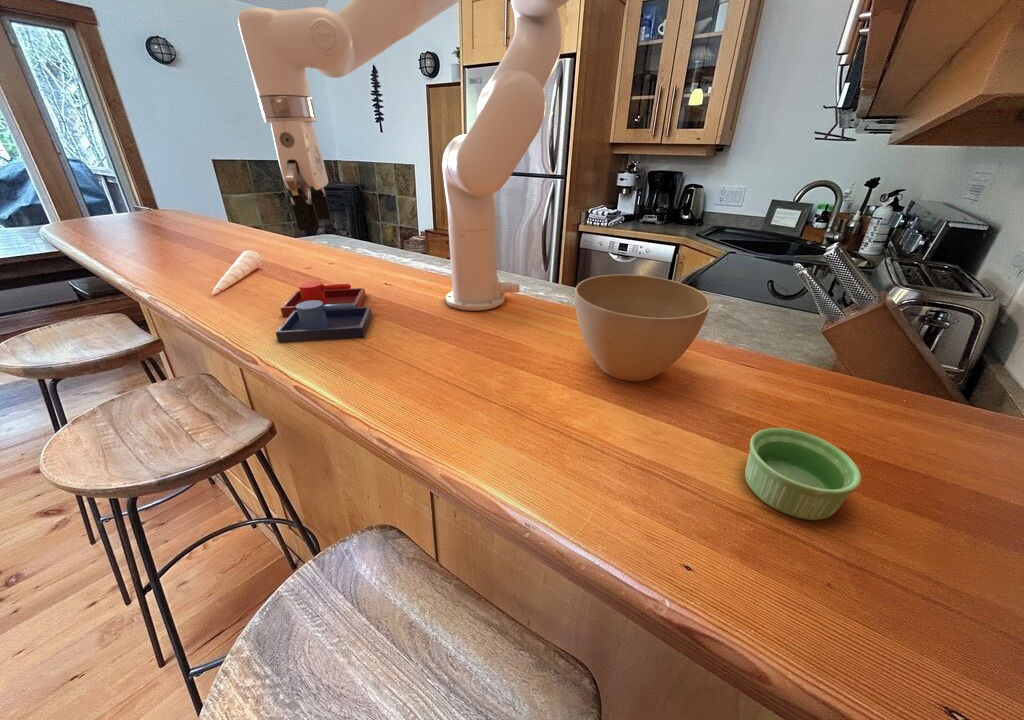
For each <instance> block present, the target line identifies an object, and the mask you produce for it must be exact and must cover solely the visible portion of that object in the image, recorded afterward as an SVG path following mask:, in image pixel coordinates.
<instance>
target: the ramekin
mask: <svg viewBox="0 0 1024 720" xmlns="http://www.w3.org/2000/svg"><path fill="white" fill-rule="evenodd" d="M748 453H749V454H748V456H747V457H748V458H747V460H746V461H747V462H746V465H745V471H744V476H745V481H746V484H747V485H748V487H749V488H750V490H751V491H752V492H753V493H754V494H755V495H756V496H757V497H758V499H760V500H761V501H762V502H764V503H765V504H766V505H767V506H769V507H771V508H773V509H775V510H776V511H778V512H780V513H783V514H785V515H788V516H790V517H793V518H797V519H802V520H807V521H808V520H809V521H818V520H819V521H820V520H824V519H828V518H830V517H832V516H833V515H834V514H836V512H837V511H838V510H839V509H840V507H841V506H842V505H843V503H844V502H845V500H846V499H847V498H848V497H849V495H850V494H853V492H854V491H855V490H856V489H857V488H858V487H859V486H860V484H861V481H862V475H861V474H862V473H861V471H860V469H859V467H858V465H857V464H856V463H855V461H854V460H853V459H852V458H851V457H850V456H849V455H848V454H846V453H845V451H843V450H842V449H840V448H839V447H837V446H835V445H834V444H833V443H831V442H829V441H827V440H826V439H823V438H821V437H818V436H816V435H813V434H811V433H808V432H804V431H801V430H797V429H792V428H786V427H785V428H784V427H770V428H764V429H760V430H758V431H757V432H755V433H754V434H753V435H752V436H751V438H750V442H749V452H748Z"/></svg>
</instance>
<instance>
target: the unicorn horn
mask: <svg viewBox="0 0 1024 720" xmlns="http://www.w3.org/2000/svg"><path fill="white" fill-rule="evenodd" d="M262 263H263V260H262V257H261V256H260V254H259V253H258V252H256V251H255V250H246V251H243V252H242V253H241V254H240V255H239V257H238V258H237V259H236V260H235V261H234V263H233V264H232V265H231V266H230V268H229V269H228V270H227V271H226V272H225V274H224V275H223V276H222V277H221V279H220V280H219V281H218V282H217V284H216V285H215V287H214V289H213V290H212V292H211V295H212V296H214V295H216V294H219V293H221V292H222V291H224V290H226V289H227V288H229V287H231V286H232V285H234V284H235V283H237V282H239V281H241V280H242V279H243V278H246V277H247V276H248V275H249V274H251V273H252V272H254V271H255V270H257V269H258V268H260V267H261V266H262Z"/></svg>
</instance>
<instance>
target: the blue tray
mask: <svg viewBox="0 0 1024 720" xmlns="http://www.w3.org/2000/svg"><path fill="white" fill-rule="evenodd" d="M325 314H326V318H327V322H328V327H327V328H325V329H307V330H302V327H301V323H300V319H299V315H298V312H297V311H293V312H292V314H291V315H290V316H289V317H286V319H285V320H284V322H283V323H282V324H281V325H280V327H279V328H278V329H277V330H276V331H275V335H276V339H277V343H294V342H309V341H311V342H312V341H326V340H327V341H328V340H342V339H359V338H365V336H366V333H367V330H368V328H369V325H370V322H371V319H372V318H373V313H372V307H371V306H361V307H357V308H355V309H354V310H336V311H325Z"/></svg>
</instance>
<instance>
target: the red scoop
mask: <svg viewBox="0 0 1024 720" xmlns="http://www.w3.org/2000/svg"><path fill="white" fill-rule="evenodd" d="M340 289H352V285H351V284H350V283H331V284H323V282H322V281H320V280H309V281H304V282H301V283H299V284H298V290H299V291H300V293H301V297H302V301H303V302H305V301H311V300H318V301H322V302H323V305H326V304H327V302H326V298H325V293H324V290H340Z"/></svg>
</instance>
